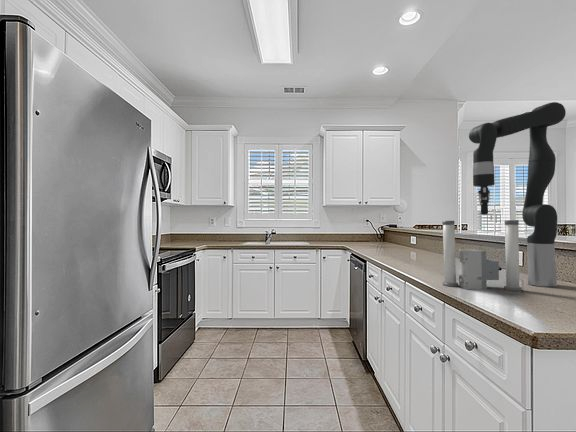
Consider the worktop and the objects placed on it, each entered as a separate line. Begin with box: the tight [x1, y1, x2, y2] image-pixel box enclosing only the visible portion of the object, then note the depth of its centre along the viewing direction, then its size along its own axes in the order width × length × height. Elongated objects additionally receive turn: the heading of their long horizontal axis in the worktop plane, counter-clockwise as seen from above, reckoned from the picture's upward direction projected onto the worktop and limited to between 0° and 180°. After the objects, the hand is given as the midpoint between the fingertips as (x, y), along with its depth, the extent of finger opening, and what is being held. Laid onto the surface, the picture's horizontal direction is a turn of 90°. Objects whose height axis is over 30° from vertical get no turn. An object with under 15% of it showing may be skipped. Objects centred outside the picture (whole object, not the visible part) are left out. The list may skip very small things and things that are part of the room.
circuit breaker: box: [457, 249, 503, 290], centre depth 140 cm, size 8×14×15 cm, turn 78°
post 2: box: [503, 219, 523, 292], centre depth 135 cm, size 6×6×27 cm
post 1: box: [442, 220, 459, 288], centre depth 146 cm, size 6×6×27 cm
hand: (484, 214), depth 140 cm, fingers open, 8 cm apart
